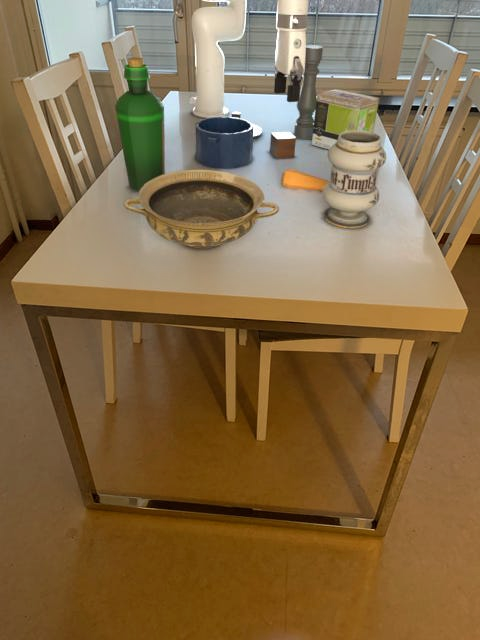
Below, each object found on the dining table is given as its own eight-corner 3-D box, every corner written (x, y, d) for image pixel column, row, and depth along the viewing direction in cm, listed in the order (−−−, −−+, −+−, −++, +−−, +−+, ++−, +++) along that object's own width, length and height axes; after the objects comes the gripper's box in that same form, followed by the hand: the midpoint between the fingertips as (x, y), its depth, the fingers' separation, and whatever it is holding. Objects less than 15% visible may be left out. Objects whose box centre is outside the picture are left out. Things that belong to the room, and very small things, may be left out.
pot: (184, 167, 129) (182, 132, 123) (210, 143, 145) (209, 111, 139) (240, 175, 126) (241, 140, 120) (260, 149, 142) (261, 117, 136)
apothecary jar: (316, 205, 112) (327, 125, 101) (368, 207, 112) (384, 127, 101) (322, 229, 103) (334, 144, 92) (378, 231, 103) (397, 147, 92)
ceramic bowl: (116, 268, 89) (108, 218, 83) (139, 211, 107) (134, 167, 101) (279, 273, 89) (283, 224, 83) (273, 215, 108) (277, 171, 102)
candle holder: (313, 133, 155) (323, 45, 140) (313, 139, 150) (324, 49, 135) (293, 132, 155) (302, 44, 140) (293, 138, 150) (302, 47, 135)
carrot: (279, 190, 121) (281, 176, 117) (282, 177, 123) (284, 163, 119) (358, 205, 119) (363, 192, 115) (360, 192, 121) (365, 179, 117)
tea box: (370, 150, 144) (381, 97, 135) (352, 158, 138) (361, 103, 129) (329, 138, 152) (336, 87, 143) (310, 145, 146) (316, 92, 137)
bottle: (176, 182, 121) (169, 57, 104) (157, 198, 113) (146, 66, 96) (138, 175, 123) (125, 52, 106) (116, 191, 116) (99, 60, 98)
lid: (201, 138, 148) (201, 117, 145) (219, 123, 161) (219, 103, 157) (254, 144, 145) (255, 123, 141) (267, 129, 158) (268, 109, 154)
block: (269, 152, 140) (271, 133, 137) (287, 151, 141) (289, 131, 138) (276, 159, 136) (277, 139, 133) (294, 157, 137) (296, 137, 134)
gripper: (320, 26, 113) (311, 104, 124) (292, 18, 126) (287, 89, 137) (290, 27, 111) (284, 106, 122) (265, 18, 124) (262, 90, 135)
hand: (286, 97), depth 129 cm, fingers open, 9 cm apart
